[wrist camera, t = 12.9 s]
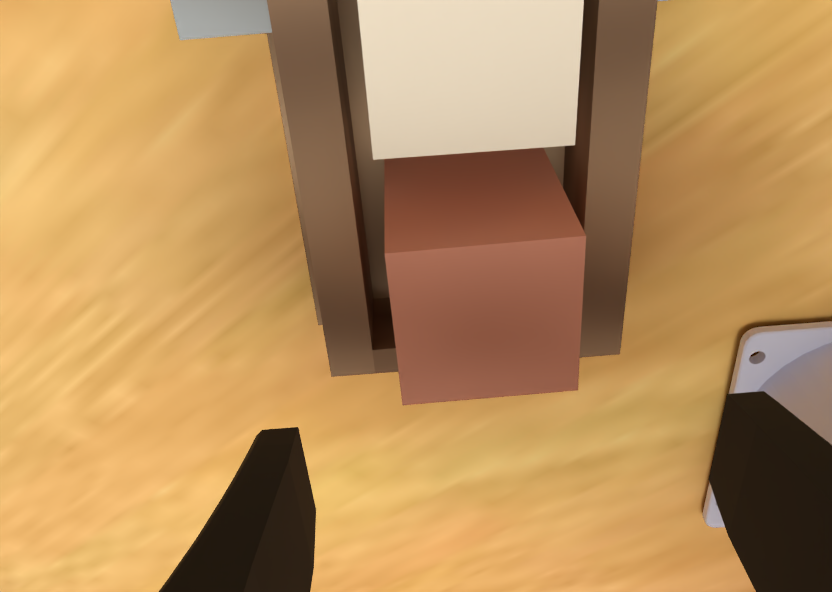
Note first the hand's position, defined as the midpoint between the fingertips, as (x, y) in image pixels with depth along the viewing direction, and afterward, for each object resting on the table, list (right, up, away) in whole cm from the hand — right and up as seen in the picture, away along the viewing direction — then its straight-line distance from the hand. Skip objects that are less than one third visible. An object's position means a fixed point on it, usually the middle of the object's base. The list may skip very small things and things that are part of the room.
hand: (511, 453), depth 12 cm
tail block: (0, +5, +8) cm, 9 cm away
